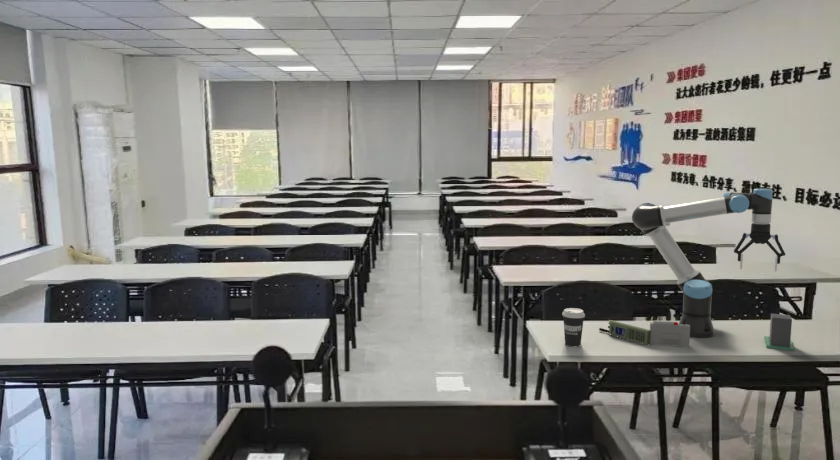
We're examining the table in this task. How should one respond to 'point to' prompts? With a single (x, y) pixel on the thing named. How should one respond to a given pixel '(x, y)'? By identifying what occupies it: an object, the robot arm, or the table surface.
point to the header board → (778, 346)
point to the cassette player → (669, 333)
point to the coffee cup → (573, 326)
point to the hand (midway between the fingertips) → (757, 269)
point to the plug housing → (780, 330)
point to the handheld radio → (629, 332)
